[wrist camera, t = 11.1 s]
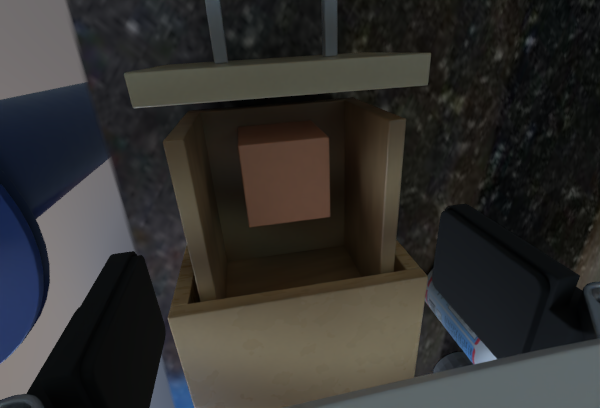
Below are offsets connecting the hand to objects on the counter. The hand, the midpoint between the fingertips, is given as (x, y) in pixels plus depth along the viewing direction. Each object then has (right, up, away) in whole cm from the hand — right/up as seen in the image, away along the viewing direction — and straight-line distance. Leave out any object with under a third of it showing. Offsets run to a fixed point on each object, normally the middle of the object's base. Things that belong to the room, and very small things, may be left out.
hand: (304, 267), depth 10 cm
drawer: (-2, +6, +11) cm, 12 cm away
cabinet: (-1, -5, +17) cm, 18 cm away
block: (-1, +5, +10) cm, 11 cm away
